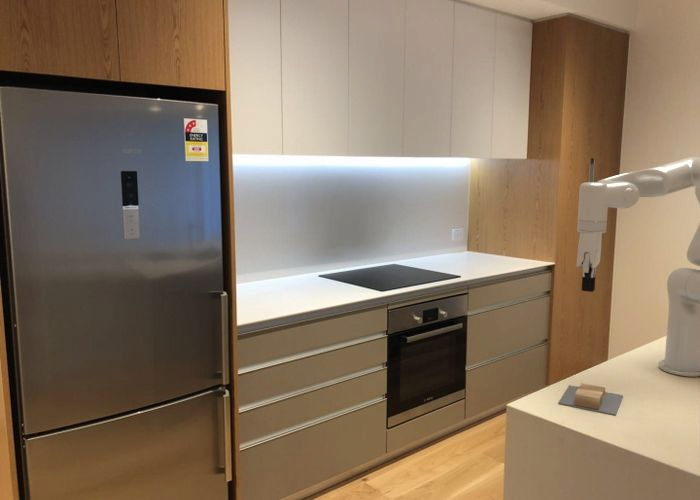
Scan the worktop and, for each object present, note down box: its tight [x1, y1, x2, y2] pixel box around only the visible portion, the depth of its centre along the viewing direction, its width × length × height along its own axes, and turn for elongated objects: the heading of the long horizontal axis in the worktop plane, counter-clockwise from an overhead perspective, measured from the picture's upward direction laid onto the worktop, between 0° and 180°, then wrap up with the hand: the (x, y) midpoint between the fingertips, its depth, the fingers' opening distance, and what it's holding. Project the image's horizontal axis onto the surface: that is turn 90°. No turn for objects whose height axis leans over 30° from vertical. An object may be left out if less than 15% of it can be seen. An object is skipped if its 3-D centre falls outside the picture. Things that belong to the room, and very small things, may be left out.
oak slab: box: [574, 382, 606, 410], centre depth 156 cm, size 3×6×9 cm
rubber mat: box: [557, 384, 624, 416], centre depth 157 cm, size 14×14×1 cm
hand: (588, 290), depth 166 cm, fingers closed
